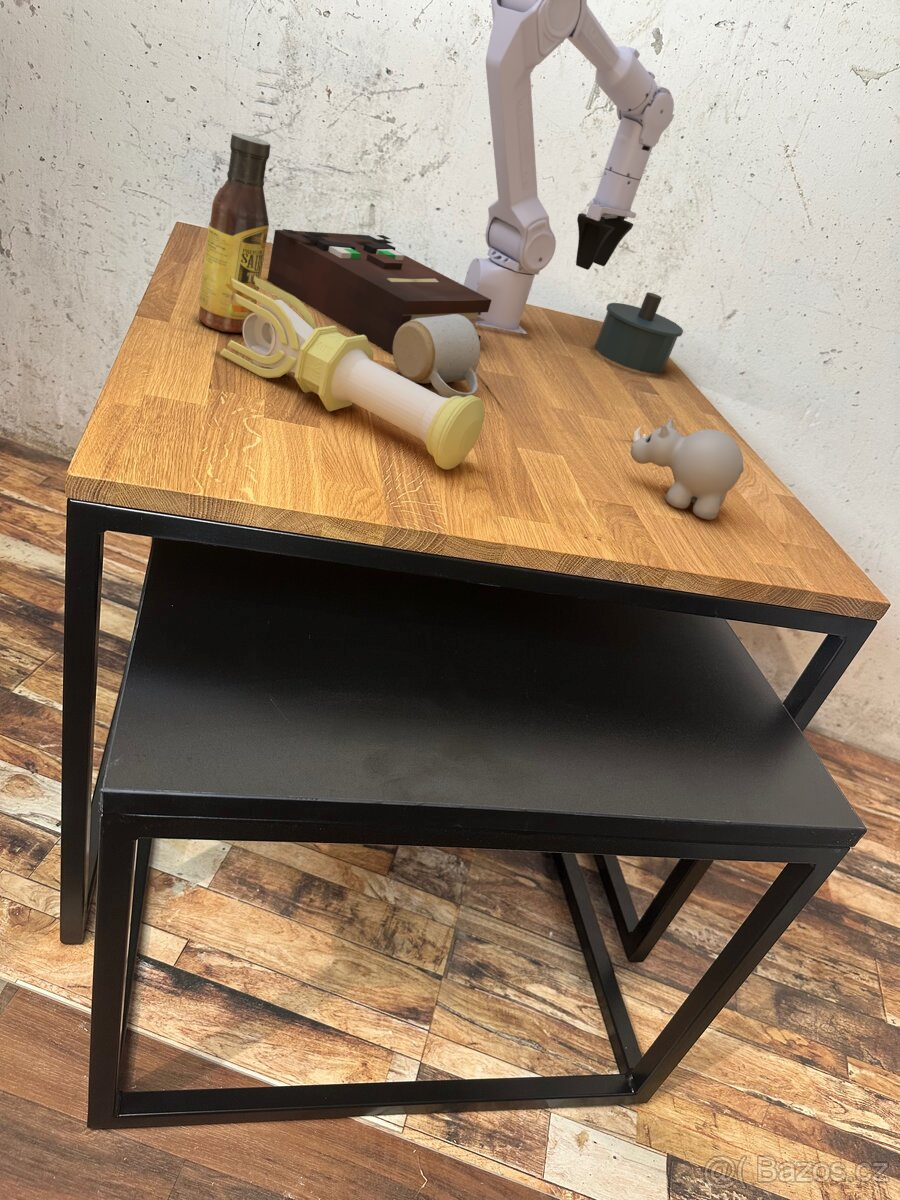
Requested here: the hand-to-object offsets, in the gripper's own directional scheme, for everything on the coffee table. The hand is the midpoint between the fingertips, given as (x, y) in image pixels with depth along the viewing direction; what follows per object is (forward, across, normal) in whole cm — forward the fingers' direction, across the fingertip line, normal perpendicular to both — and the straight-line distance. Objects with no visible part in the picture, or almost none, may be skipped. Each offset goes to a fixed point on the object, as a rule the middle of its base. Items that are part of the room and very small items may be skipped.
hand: (590, 265), depth 137 cm
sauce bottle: (+11, -59, +21) cm, 64 cm away
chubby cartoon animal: (+11, -49, -32) cm, 59 cm away
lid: (+4, -4, -12) cm, 13 cm away
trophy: (+11, -66, 0) cm, 67 cm away
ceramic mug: (+11, -48, -1) cm, 49 cm away
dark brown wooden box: (+11, -34, +17) cm, 39 cm away
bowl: (+10, -4, -12) cm, 16 cm away
